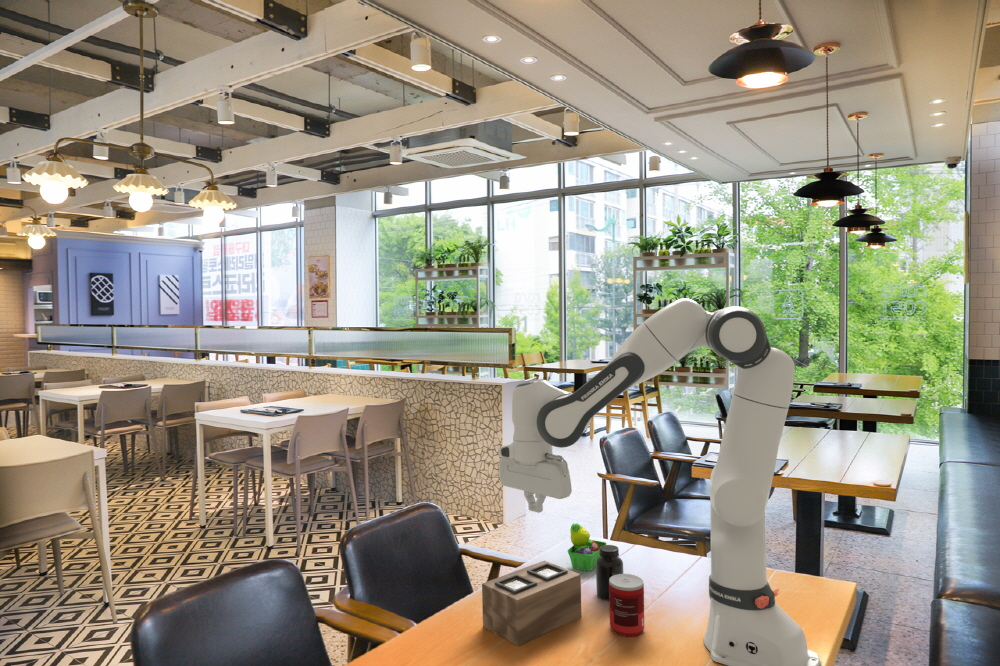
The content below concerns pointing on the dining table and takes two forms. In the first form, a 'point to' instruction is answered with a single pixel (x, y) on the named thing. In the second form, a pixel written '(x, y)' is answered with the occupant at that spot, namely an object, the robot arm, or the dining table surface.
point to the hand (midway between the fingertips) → (535, 511)
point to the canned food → (626, 604)
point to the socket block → (531, 602)
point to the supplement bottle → (607, 568)
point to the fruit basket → (583, 548)
